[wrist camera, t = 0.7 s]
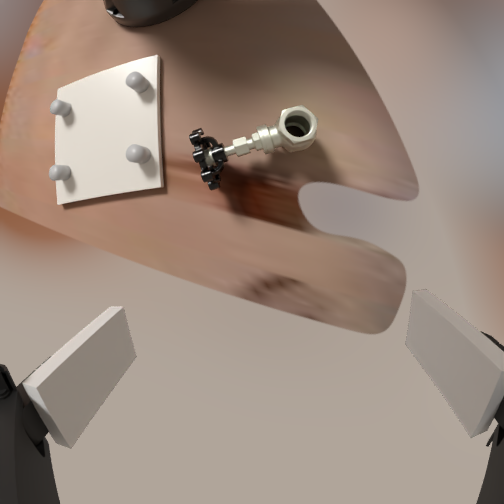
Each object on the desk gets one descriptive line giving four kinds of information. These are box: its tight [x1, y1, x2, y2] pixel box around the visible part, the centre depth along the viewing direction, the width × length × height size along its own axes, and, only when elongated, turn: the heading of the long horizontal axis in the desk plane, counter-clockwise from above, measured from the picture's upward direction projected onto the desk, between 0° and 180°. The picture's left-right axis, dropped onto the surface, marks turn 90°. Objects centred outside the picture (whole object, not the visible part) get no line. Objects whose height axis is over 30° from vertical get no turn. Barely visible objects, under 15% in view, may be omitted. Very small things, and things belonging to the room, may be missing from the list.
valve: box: [189, 105, 318, 190], centre depth 28 cm, size 7×7×12 cm
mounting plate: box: [49, 55, 164, 205], centre depth 30 cm, size 17×16×4 cm
